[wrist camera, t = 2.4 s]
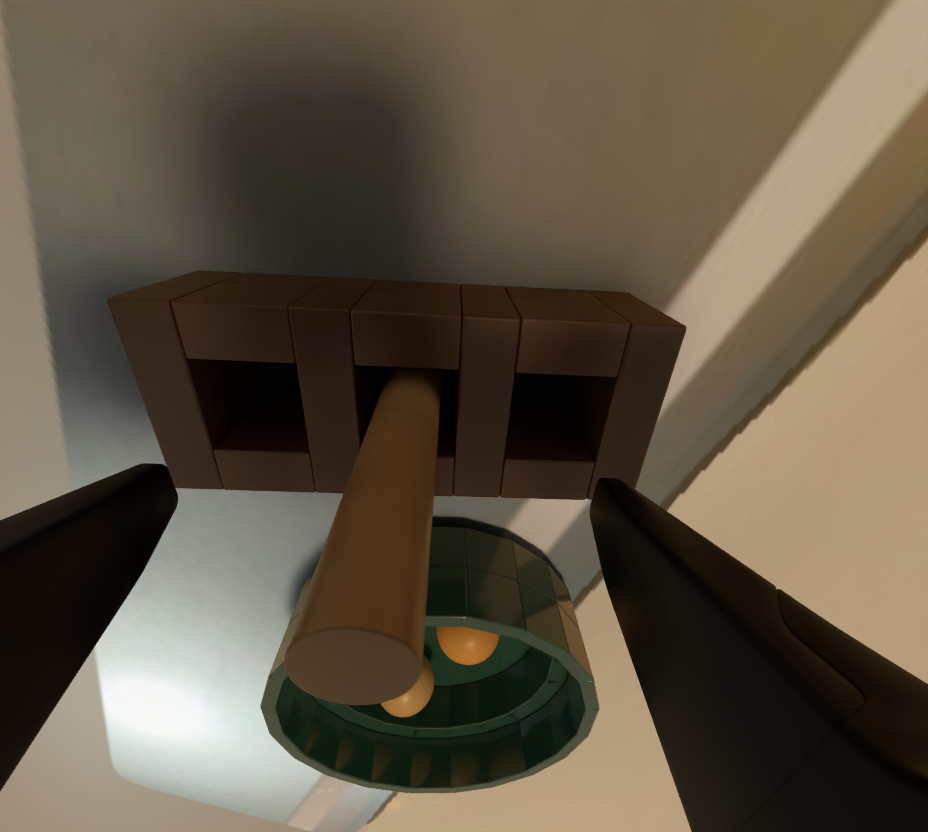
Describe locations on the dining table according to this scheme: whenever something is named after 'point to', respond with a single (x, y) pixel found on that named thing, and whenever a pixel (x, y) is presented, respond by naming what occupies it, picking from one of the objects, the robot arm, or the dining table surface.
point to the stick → (375, 557)
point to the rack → (394, 345)
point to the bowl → (459, 683)
